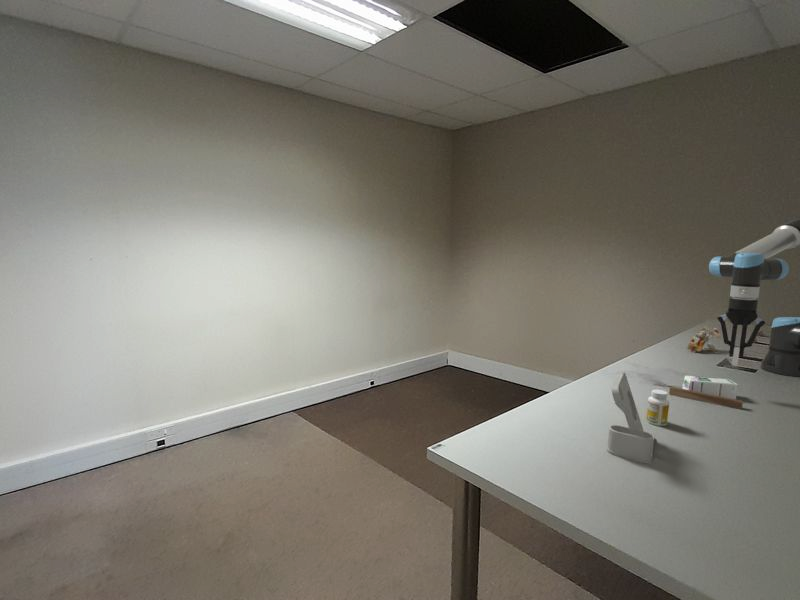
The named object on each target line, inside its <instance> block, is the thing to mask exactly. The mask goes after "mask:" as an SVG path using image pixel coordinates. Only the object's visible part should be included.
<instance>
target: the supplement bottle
mask: <svg viewBox="0 0 800 600" xmlns="http://www.w3.org/2000/svg"><path fill="white" fill-rule="evenodd" d="M669 411H670V401H669V399H668V392H667V391H666V390H662V389H652V390H651V396H649V397H648V398H647V408H646V417H645V418H646V421H647V422H648V423H649V424H651V425H653V426H659V427H662V426H666V425H668V419H669Z"/></svg>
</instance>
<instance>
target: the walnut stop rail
mask: <svg viewBox="0 0 800 600" xmlns="http://www.w3.org/2000/svg"><path fill="white" fill-rule="evenodd" d="M668 394H670V396H674V395H675V397H679V396H680V398H684V399H689V400H693V401H700V402H704V403H708V404H714V405H718V406H722V407H723V406H724V407H727V408H733V409H739V410H742V409H743V402H744V401H743V400H741V399H737V398H736V399H732V398H726V397H721V396H716V395H711V394H706V393H701V392H696V391H691V390H686V389H683V388H680V387H677V386H676V387H674V386H670V387H669V392H668Z"/></svg>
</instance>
